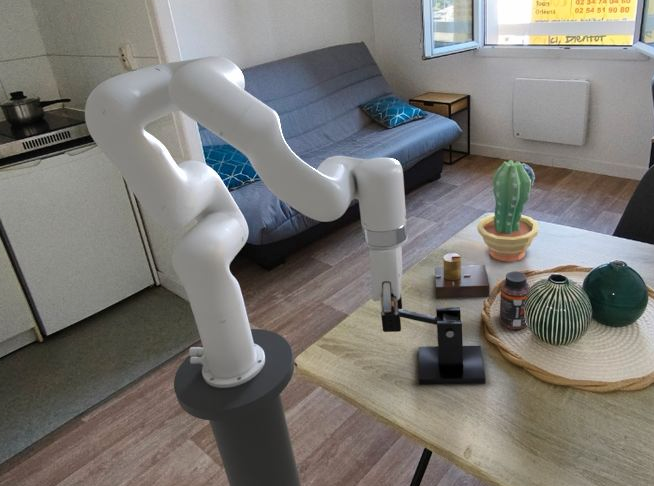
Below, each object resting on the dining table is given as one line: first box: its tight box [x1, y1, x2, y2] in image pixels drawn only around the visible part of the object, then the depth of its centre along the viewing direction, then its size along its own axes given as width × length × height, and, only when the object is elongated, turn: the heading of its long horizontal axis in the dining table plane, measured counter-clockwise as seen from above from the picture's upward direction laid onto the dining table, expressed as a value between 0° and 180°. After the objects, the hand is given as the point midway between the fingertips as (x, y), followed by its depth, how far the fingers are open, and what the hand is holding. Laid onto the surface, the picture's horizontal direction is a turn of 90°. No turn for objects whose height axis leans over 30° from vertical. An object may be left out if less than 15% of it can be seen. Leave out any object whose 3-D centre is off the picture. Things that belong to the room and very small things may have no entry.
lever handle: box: [391, 301, 458, 326], centre depth 91 cm, size 13×5×2 cm, turn 86°
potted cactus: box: [476, 159, 540, 263], centre depth 126 cm, size 15×15×25 cm
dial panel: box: [434, 264, 490, 299], centre depth 118 cm, size 12×9×3 cm
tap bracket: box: [418, 306, 487, 385], centre depth 93 cm, size 12×9×12 cm
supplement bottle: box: [499, 270, 532, 330], centre depth 103 cm, size 6×6×11 cm
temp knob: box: [442, 252, 462, 280], centre depth 117 cm, size 4×4×5 cm
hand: (392, 318), depth 92 cm, fingers open, 5 cm apart
